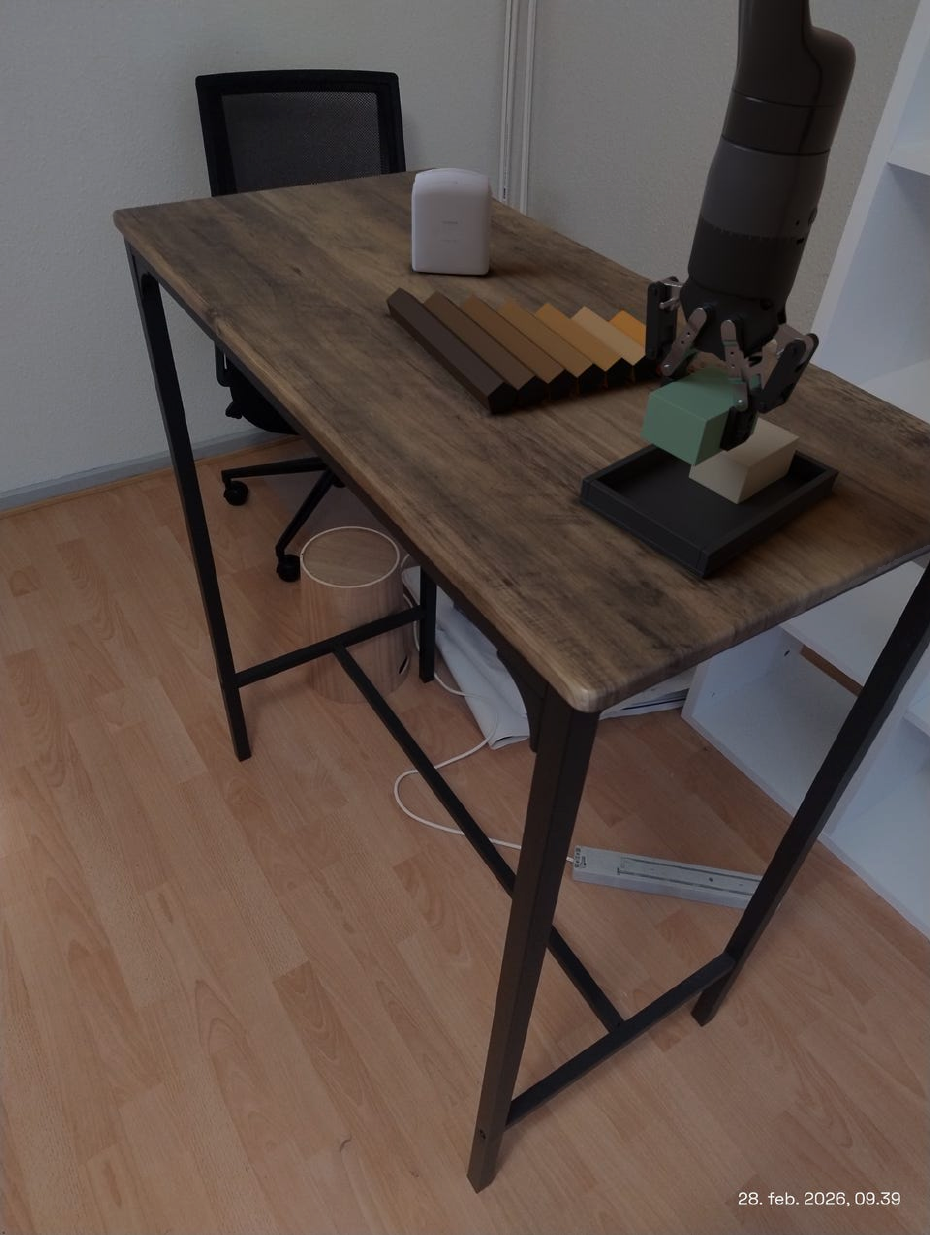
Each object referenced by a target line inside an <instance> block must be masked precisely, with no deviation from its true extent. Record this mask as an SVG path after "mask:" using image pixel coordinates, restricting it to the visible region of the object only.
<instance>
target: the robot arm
mask: <svg viewBox="0 0 930 1235" xmlns="http://www.w3.org/2000/svg"><path fill="white" fill-rule="evenodd" d="M737 5H738V6H737V8H738V9H737V49H736V66H735V70H734V75H733V79H732V83H731V88H730V93H729V98H728V103H727V107H726V111H725V116H724V119H723V124H722V128H721V133H720V136H719V139H718V143H717V146H716V150H715V152H714V155H713V157H712V160H711V164H710V167H709V169H708V173H707V176H706V180H705V181H706V182H705V186H704V191H703V195H702V200H701V204H700V208H699V213H698V217H697V222H696V228H695V231H694V236H693V240H692V246H691V250H690V255H689V257H688V258H689V259H688V263H687V268H686V269H687V275H688V277H687V278H686V280H685V281H684V282H680V280H679V278H678V277H677V276H675V275H672V276H669V277H666V278H663V279H660V280H657V281H655V282H651V283H650V284H649V285H648V287H647V295H646V296H647V297H646V317H645V320H646V321H645V326H646V339H645V355H646V357H647V358H648V359H649V360H654V359H655V360H656V362H657V363H658V364H659V365H660V366H661V371H662V373H663V374H662V377H661V379H660V384H659V385H660V386H659V388H661V387H664V386H666V385H668V384H670V383H672V382H675V381H677V380H679V379H681V378H683V377H686V376H688V375H690V374H691V371H688V368H689V367H691V366H692V364H693V362H694V361H695V360H696V359H697V357H698V356H699V354H700V353H701V352H702V353H708V354H713V355H714V356H715V357H716V358H717V359H719V360H720V361H722V362H724V363H725V367H726V372H727V378H728V380H729V381H731V383H732V391H733V403H734V406H732V407H730V408H729V414H728V417H727V421H726V424H725V428H724V431H723V435H722V438H721V442H720V445H719V447H720V448H721V449H723V450H725V451H727V452H728V451H730V450H732V449H733V448H735V447H737V446H739V445H741V444H743V443H744V442H746V441H747V439H748V438H749V436H750V433H751V430H752V426H753V423H754V420H755V417H756V414H757V411H758V412H759V413H760V415H761V414H762V415H766V414H767V413H770V412H771V411H773V410H775V409H777V408H778V407H781V406H782V405H785V404H786V403H787V402H788V400H789V399H790V397H791V396H792V393H793V392H794V390H795V388H796V386H797V384H798V383H799V381H800V379H801V377H802V376H803V374H804V372H805V370H806V368H807V366H808V365H809V363H810V361H811V359H812V358H813V356H814V354H815V353H816V351H817V349H818V348H819V345H820V339H819V337H818V335H817V334H815V333H813V332H809V333H806V334H803V333H801V332H800V331H798V330H797V329H795V328H794V327H793V326H791V325H789V324H787V323H788V322H787V321H788V317H787V310H786V308H787V302H788V299H789V296H790V294H791V292H792V290H793V287H794V285H795V282H796V278H797V275H798V271H799V268H800V264H801V262H802V259H803V255H804V253H805V249H806V245H807V241H808V239H809V236H810V232H811V229H812V226H813V224H814V222H815V220H816V217H817V215H818V210H819V209H818V208H819V207H818V206H819V203H820V199H821V197H822V193H823V190H824V187H825V182H826V175H827V170H828V164H829V157H830V155H831V151H832V147H833V144H834V140H835V139H836V134H837V131H838V128H839V124H840V121H841V118H842V115H843V111H844V108H845V105H846V101H847V98H848V94H849V92H850V88H851V84H852V81H853V77H854V73H855V70H856V69H855V68H856V62H857V56H856V49H855V46H854V44H853V43H852V42H851V41H850V40H849V39H848V38H847V37H845V36H843V35H841V34H839V33H836V32H834V31H831V30H829V29H825V28H821V27H817V26H815V25H813V23H812V22H813V21H812V17H811V16H812V15H811V7H810V0H738V4H737ZM680 307H681V309H682V312H683V316H684V319H685V323H686V324H685V325H684V326H683V328H682V330H681V331H680V333H679V334H678V335H677V332H678V316H679V308H680ZM773 340H775V343H776V349H775V353H774V358H775V360H777V362H776V364H775V365H774V367H773V370H771V373H770V375H769V377H768V379H767V381H766V380H765V372H766V370H767V369H768V353H767V344H769V343H770V342H772V341H773ZM745 359H747V361H746V362H745Z"/></svg>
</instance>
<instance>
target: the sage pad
mask: <svg viewBox="0 0 930 1235" xmlns="http://www.w3.org/2000/svg"><path fill="white" fill-rule="evenodd" d="M732 406H734V403H733V391H732V383H731V381H729V380H728V378H727V371H725V370H723V369H721V368H719V367H716V366H714V365H712V364H710V365H706V367H703V368H701V369H699V370H697V371H695V372H692V373H690V375H688V376H686V377H683V378H681V379H679V380H677V381H675V382H672V383H670V384H668V385H666V386H664V387H661V388H660V387H659V388H657V389H655V390H653V391H650V392H649V396H648V399H647V405H646V409H645V414H644V417H643V418H644V419H643V423H642V429H641V433H640V438H641V439H643V440H645V441H647V442H648V443H650V444H654V445H656V446H658V447H660V448H661V449H663V450H665V451H667V452H669V453H671V454H672V455H674V456H676V457H678V458H680V459H682V460H684V461H685V462H687V463H689V464H691V465H693V466H696V465H698V464H700V463H702V462H704V461H705V460H707V459H709V458H711V457H713V456H715V455H716V454H718V453H720V452H722V451H724V450H723V449H721V448H720V447H719V445H720V442H721V438H722V435H723V431H724V428H725V424H726V421H727V417H728V414H729V408H730V407H732ZM760 415H761V413H759V412H758V411H757V414H756V417H755V420H754V423H753V426H752V430H751V433H750V436H751V435H753V433H754V430H755V426H756V423H757V420H758V417H759V416H760ZM759 418H760V417H759Z"/></svg>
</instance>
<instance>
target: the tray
mask: <svg viewBox="0 0 930 1235" xmlns="http://www.w3.org/2000/svg"><path fill="white" fill-rule="evenodd" d="M691 466H692V465H691V464H689V463H687V462H685V461H684V460H682V459H680V458H678V457H676V456H674V455H672V454H671V453H669V452H667V451H665V450H663V449H661V448H660V447H658V446H656V445H654V444H652V443H650V444H648V445H646V446H645V447H642V448H640V449H638V450H636V451H635V452H633V453H630V454H629V455H626V456H624V457H623V458H621V459H619V460H617V461H615V462H613V463H611V464H609V465H607V466H605V467H603V468H601V469H599V470H597V471H595V472H593V473H591V474H589V475H587V476H584V478H582V483H581V487H580V488H581V489H580V493H579V494H580V495H579V500H578V502H579V503H580V504H582V505H583V506H585V507H586V508H588V509H590V510H591V511H594V512H595V513H596V514H598V515H599V516H601V517H603V518H605V519H606V520H607V521H609V522H611V523H612V524H614V525H615V526H617V527H619V528H620V529H622V530H624V531H625V532H627V533H628V534H630V535H632V536H633V537H635V538H637V539H638V540H639V541H641V542H643V543H644V544H645V545H647V546H649V547H650V548H652V549H654V550H656V551H658V552H659V553H660V554H662V555H663V556H665V557H667V558H668V559H670V560H672V561H673V562H675V563H676V564H678V565H680V566H681V567H682V568H684V569H686V570H687V571H689V572H691V573H692V574H694V575H695V576H697V577H699V578H701V579H705V578H706V577H707V576H709V575H710V574H712V573H714V572H715V571H716V570H718V569H719V568H721V567H722V566H724V565H726V564H727V563H728V562H730V561H732V560H733V559H735V558H736V557H738V556H739V555H740V554H742V553H744V552H745V551H746V550H748V549H750V548H751V547H752V546H754V545H756V544H758V542H760V541H761V540H763V539H765V538H766V537H767V536H769V535H771V534H772V533H774V532H775V531H777V530H779V529H780V528H781V527H783V526H785V525H786V524H787V523H789V522H790V521H792V520H794V519H795V518H797V517H798V516H799V515H801V514H802V513H803V512H805V511H807V510H808V509H810V508H812V507H813V506H814V505H816V504H817V503H819V502H820V501H822V500H823V499H825V498H826V497H828V496H830V495H831V493H832V491H833V488H834V486H835V483H836V482H837V481H836V480H837V478H838V476H839V473H840V471H839V470H838V469H837V468H834V467H832V466H831V465H828V464H826V463H824V462H822V461H820V460H818V459H817V458H815V457H812V456H810V455H807V454H805V453H803V452H802V451H799V450H797V449H796V450H795V453H794V456H793V459H792V461H791V464H790V467H789V470H788V473H787V474H786V475H785V476H783V477H782V478H780V479H778V480H777V481H775V482H773V483H772V484H770V485H768V486H767V487H765V488H764V489H762V490H760V491H759V492H757V493H755V494H754V495H752V496H750V497H749V498H747V499H746V500H744V501H742V502H741V503H739V504H736V503H734V502H732V501H730V500H729V499H727V498H725V497H723V496H721V495H720V494H718V493H716V492H714V491H712V490H711V489H709V488H707V487H705V486H703V485H702V484H700V483H698V482H696V481H694V480H693V479H691V478H689V473H690V470H691Z"/></svg>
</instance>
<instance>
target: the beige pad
mask: <svg viewBox="0 0 930 1235" xmlns="http://www.w3.org/2000/svg"><path fill="white" fill-rule="evenodd" d="M800 439H801V437H800V436H799V435H796V434H794V433H792V432H790V431H788V430H786V429H784V428H782V427H780V426H777V425H775V424H773V423H771V422H769V421H767V420H766V419H764V418H761V417H758V420H757V423H756V426H755V430H754V433H753V435H751V436H749V438H748V439H747V441H746V442H744V443H743V444H741V445H739V446H737V447H735V448H733V449H732V450H730V451H728V452H727V451H725V450H724V451H722V452H720V453H718V454H716V455H715V456H713V457H711V458H709V459H707V460H705V461H704V462H702V463H700V464H698V465H696V466H693V465H692V466H691V470H690V473H689V478H691V479H693V480H694V481H696V482H698V483H700V484H702V485H703V486H705V487H707V488H709V489H711V490H712V491H714V492H716V493H718V494H720V495H721V496H723V497H725V498H727V499H729V500H730V501H732V502H734V503H736V504H739V503H741V502H742V501H744V500H746V499H747V498H749V497H750V496H752V495H754V494H755V493H757V492H759V491H760V490H762V489H764V488H765V487H767V486H768V485H770V484H772V483H773V482H775V481H777V480H778V479H780V478H782V477H783V476H785V475H786V474H787V473H788V470H789V467H790V464H791V461H792V459H793V456H794V453H795V450H797V448H798V444H799V441H800Z"/></svg>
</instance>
